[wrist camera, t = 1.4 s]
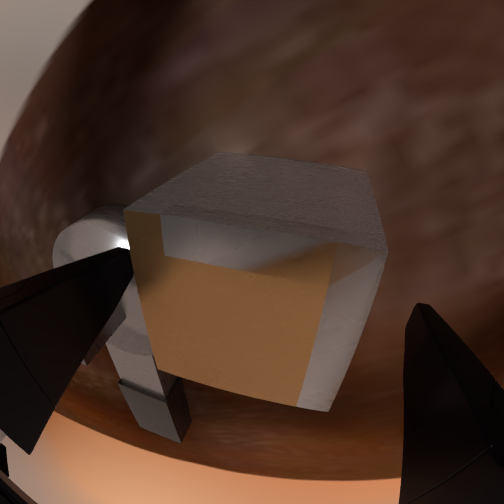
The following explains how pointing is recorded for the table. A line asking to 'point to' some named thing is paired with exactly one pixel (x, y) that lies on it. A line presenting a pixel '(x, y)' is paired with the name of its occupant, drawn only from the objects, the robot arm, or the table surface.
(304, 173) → the grey brown boxy block
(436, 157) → the table surface
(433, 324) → the robot arm
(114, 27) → the table surface
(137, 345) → the ratchet
